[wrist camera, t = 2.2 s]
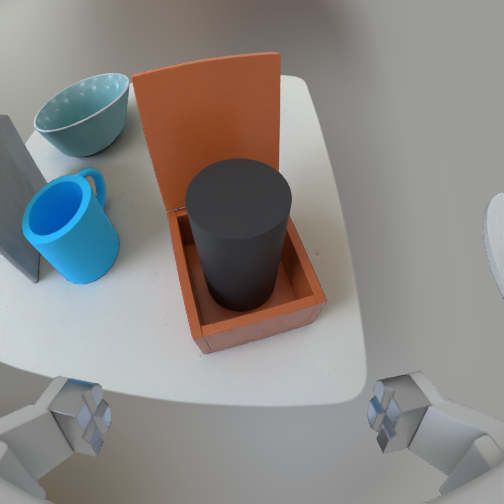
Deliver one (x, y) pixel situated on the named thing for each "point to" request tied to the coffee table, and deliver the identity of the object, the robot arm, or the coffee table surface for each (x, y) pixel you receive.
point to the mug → (72, 227)
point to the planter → (17, 199)
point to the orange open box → (254, 321)
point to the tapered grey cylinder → (239, 229)
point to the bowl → (85, 115)
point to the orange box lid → (208, 116)
